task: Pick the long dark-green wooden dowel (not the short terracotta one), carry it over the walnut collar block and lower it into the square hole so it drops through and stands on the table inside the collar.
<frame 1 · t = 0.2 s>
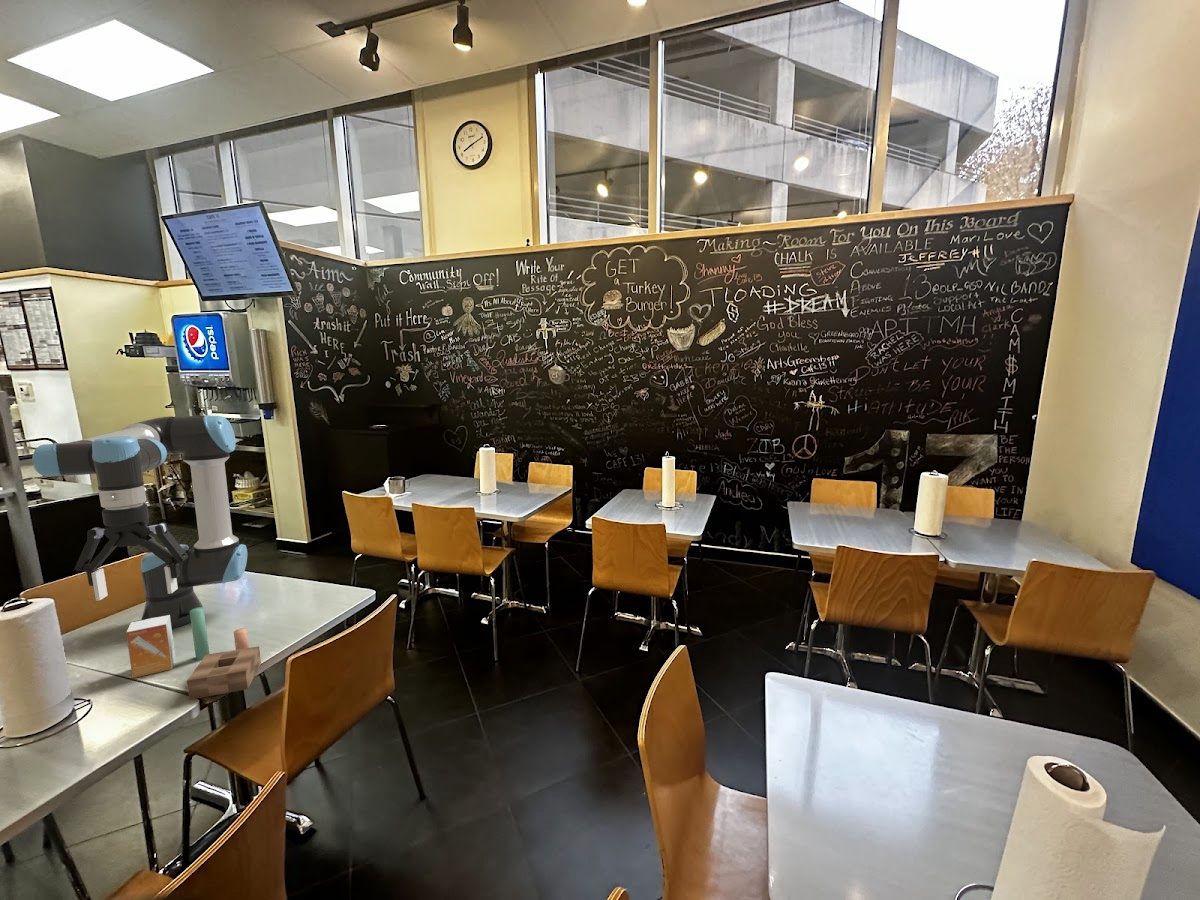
hand: (138, 594, 117), 27 cm above the table, fingers open, 13 cm apart
collar block: (227, 680, 130), on the table
short dowel: (243, 654, 142), on the table
small box: (155, 669, 136), on the table
long dowel: (202, 657, 141), on the table
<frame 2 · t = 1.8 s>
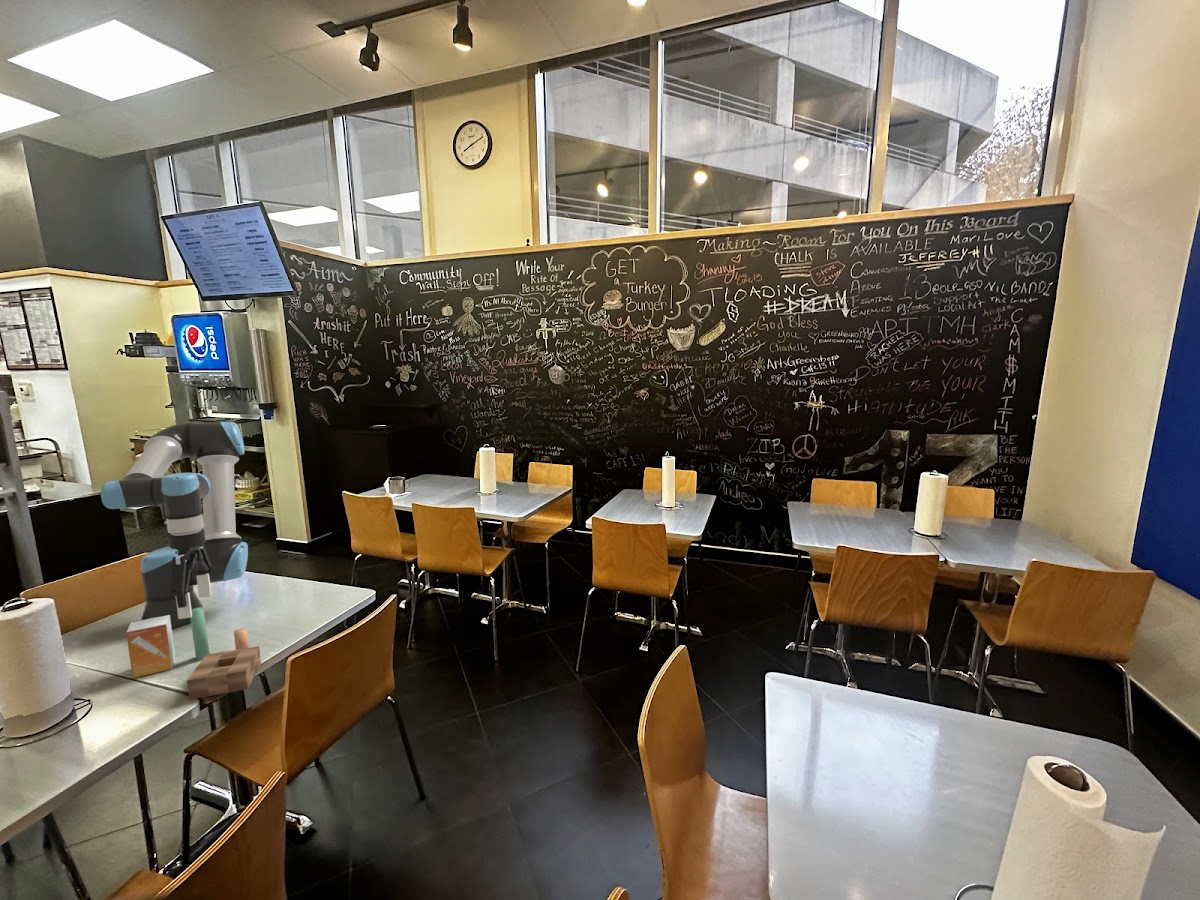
hand: (195, 606, 138), 15 cm above the table, fingers open, 13 cm apart
nothing on the table moved.
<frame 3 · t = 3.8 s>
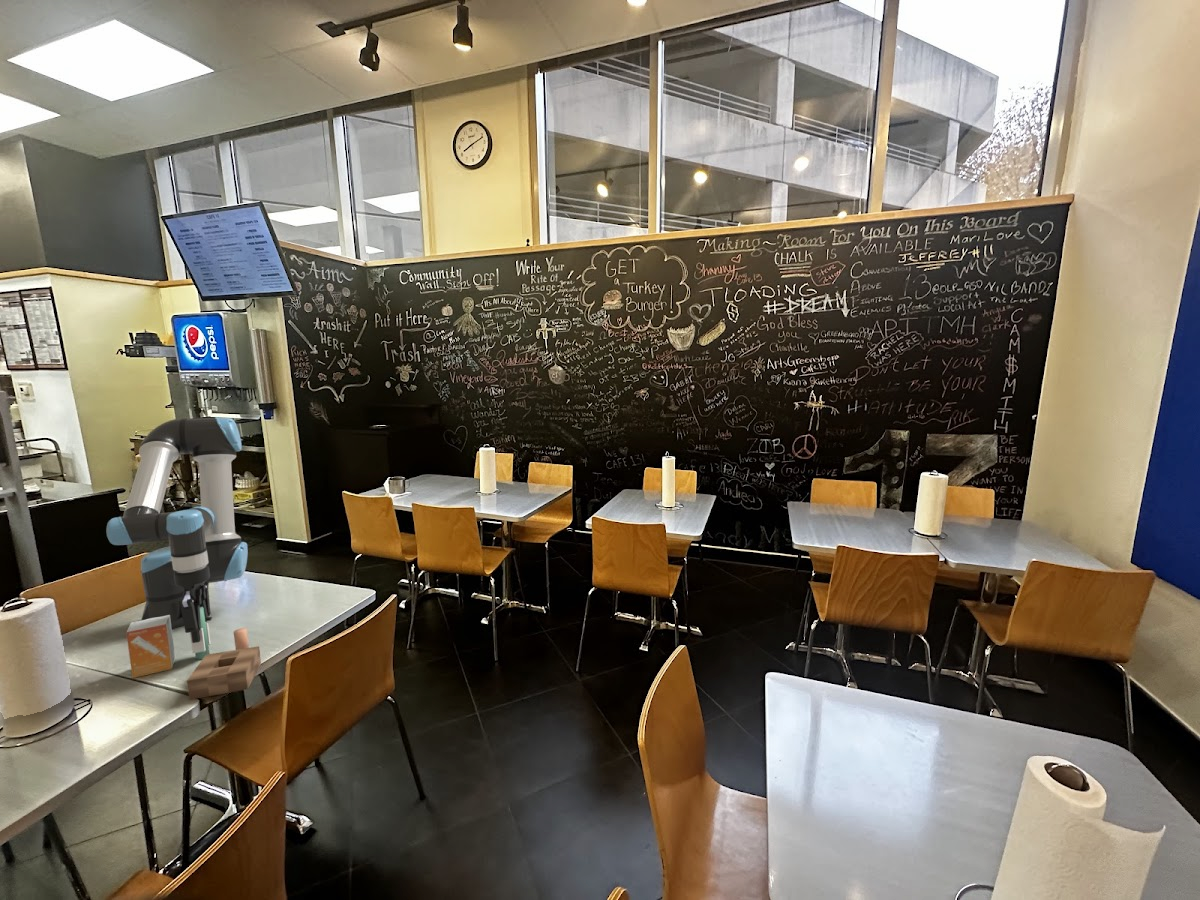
hand: (201, 648, 140), 3 cm above the table, fingers closed on long dowel, 3 cm apart
long dowel: (202, 656, 141), on the table, touching gripper
everything else where it was.
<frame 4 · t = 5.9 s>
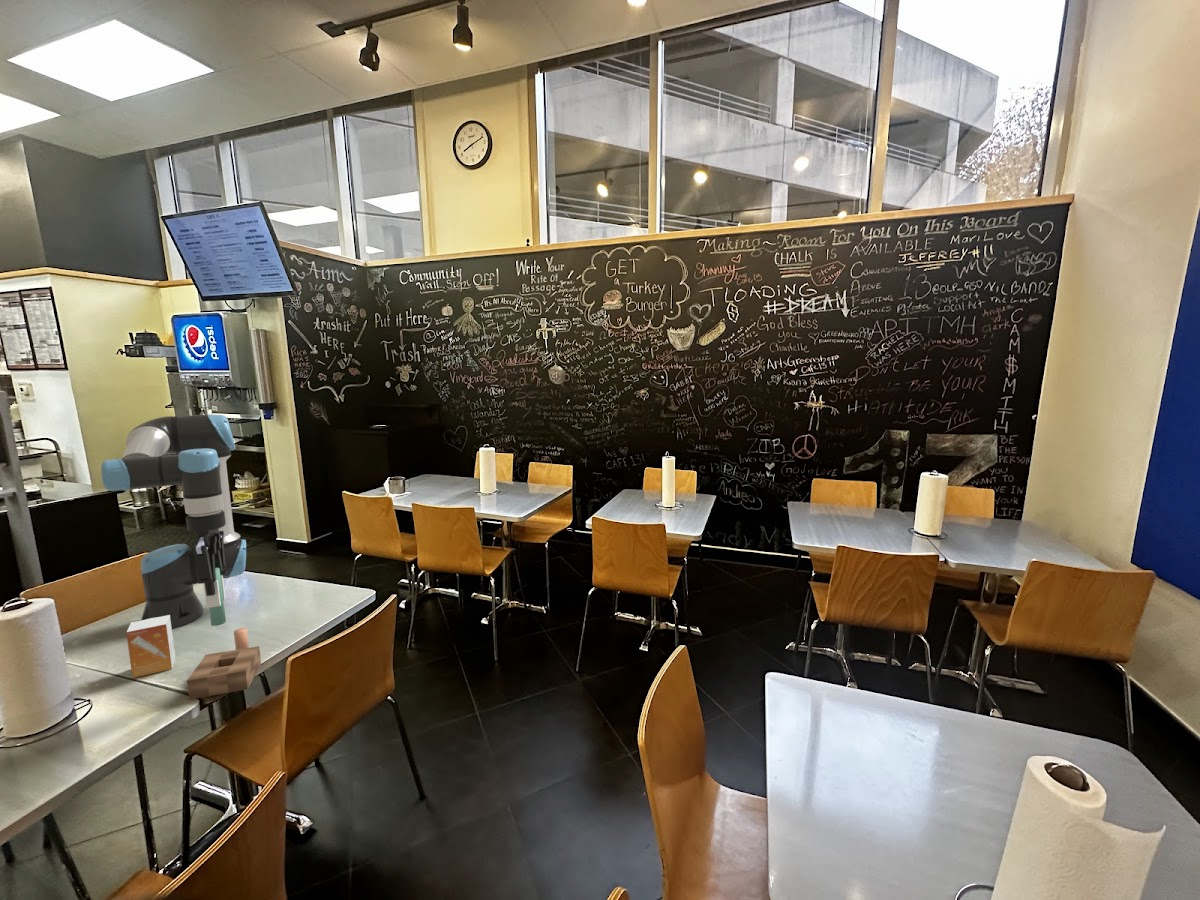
hand: (216, 603, 127), 21 cm above the table, fingers closed on long dowel, 3 cm apart
long dowel: (218, 622, 128), point 16 cm above the table, touching gripper
everything else where it was.
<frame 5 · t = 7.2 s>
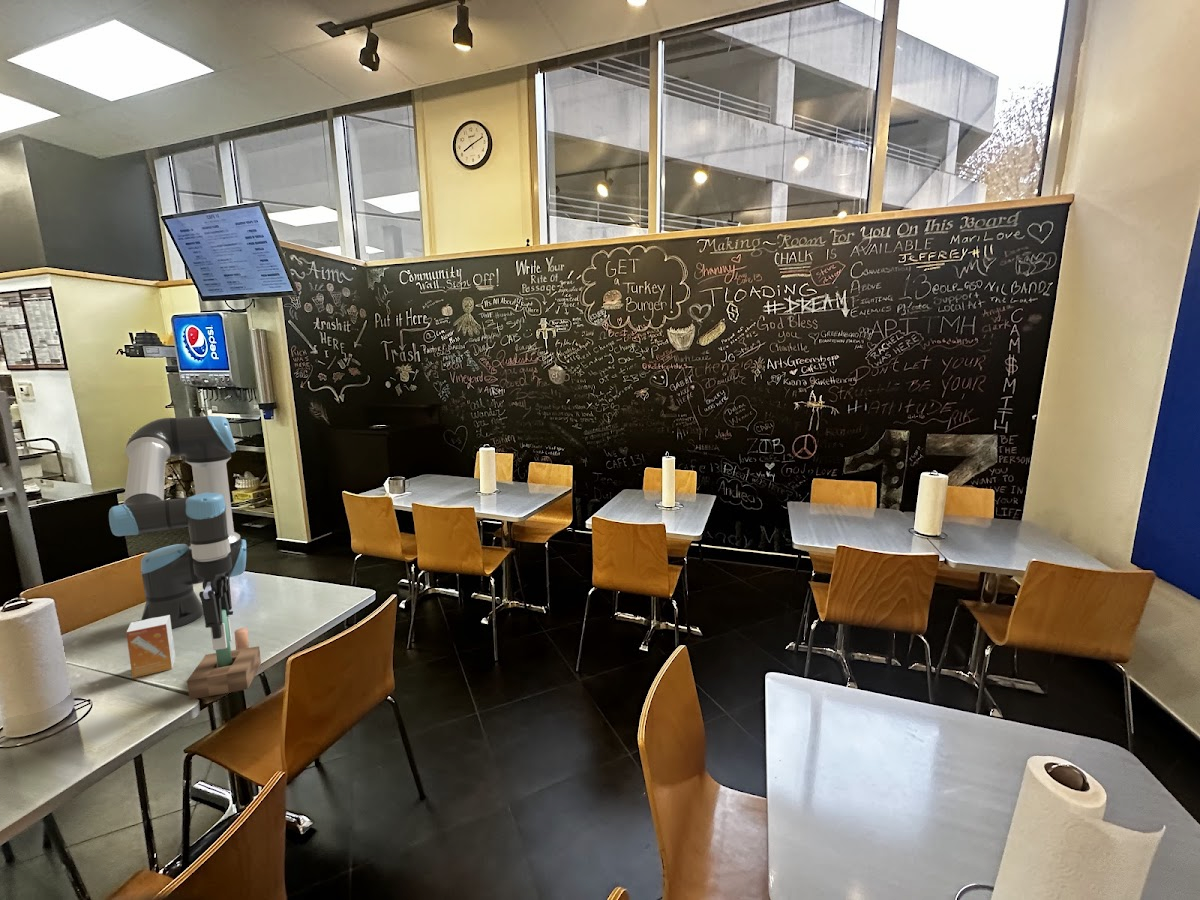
hand: (222, 644, 129), 10 cm above the table, fingers closed on long dowel, 3 cm apart
long dowel: (225, 663, 129), point 5 cm above the table, touching gripper
everything else where it was.
when the fingers open (7 cm above the table, at t = 8.4 s): long dowel drops 1 cm, resting in collar block.
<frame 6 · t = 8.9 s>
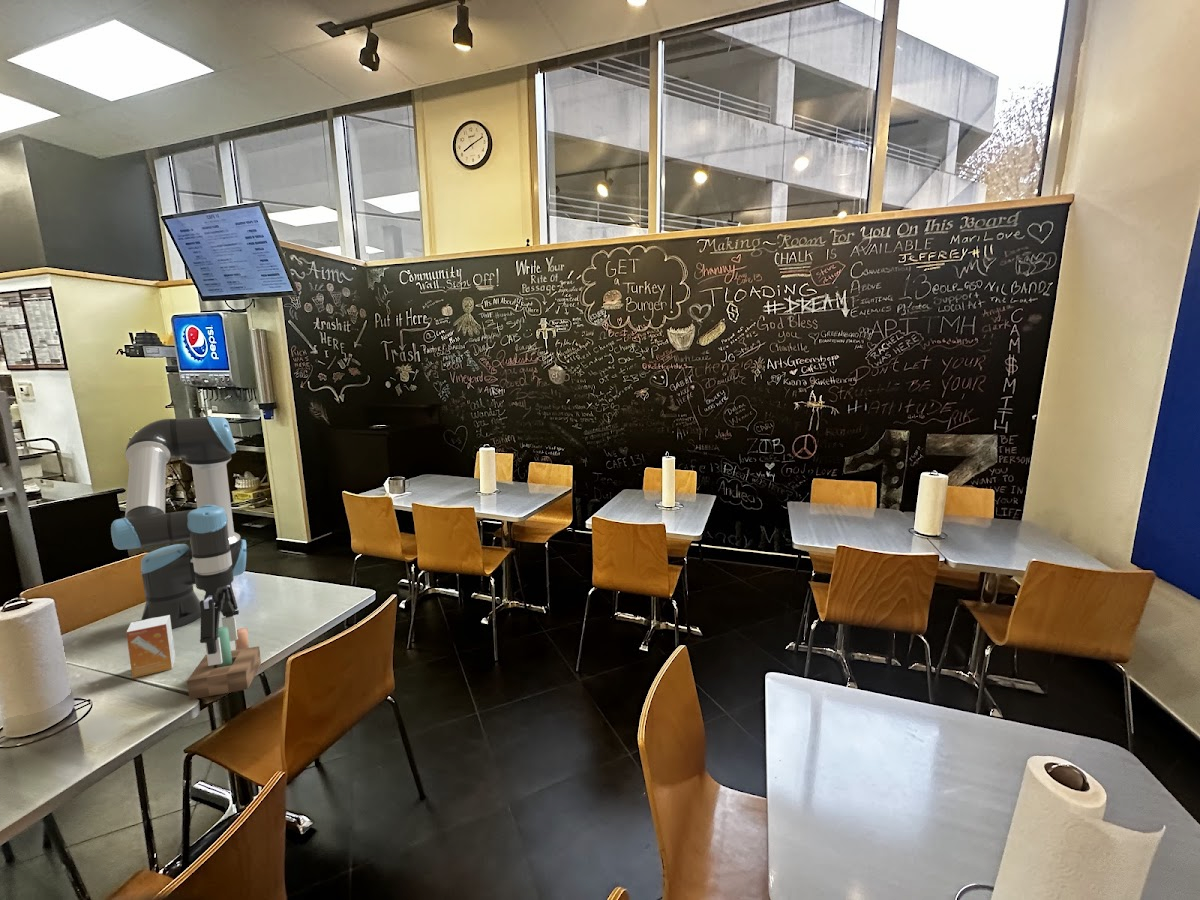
hand: (223, 651, 129), 8 cm above the table, fingers open, 11 cm apart
long dowel: (227, 680, 130), resting in collar block
everything else where it was.
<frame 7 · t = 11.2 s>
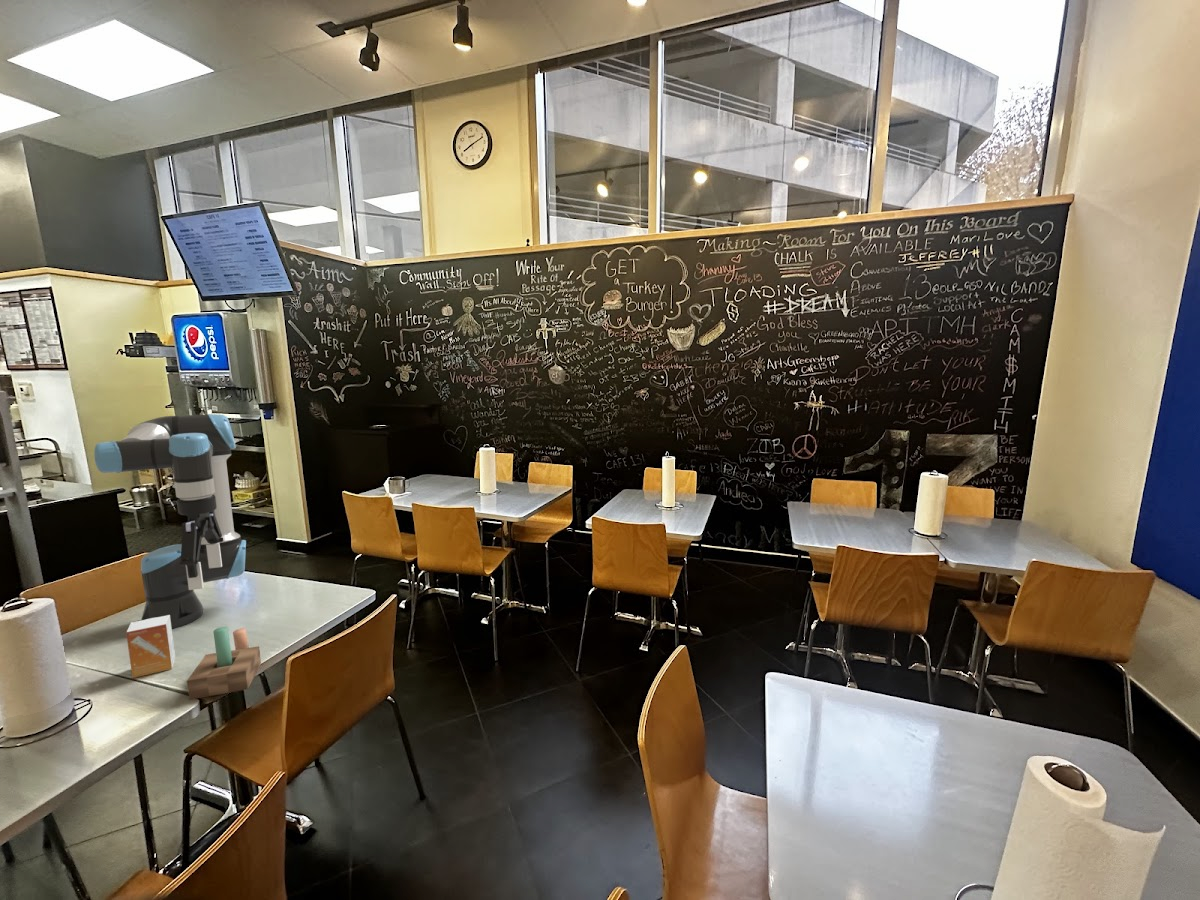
hand: (206, 577, 128), 27 cm above the table, fingers open, 13 cm apart
nothing on the table moved.
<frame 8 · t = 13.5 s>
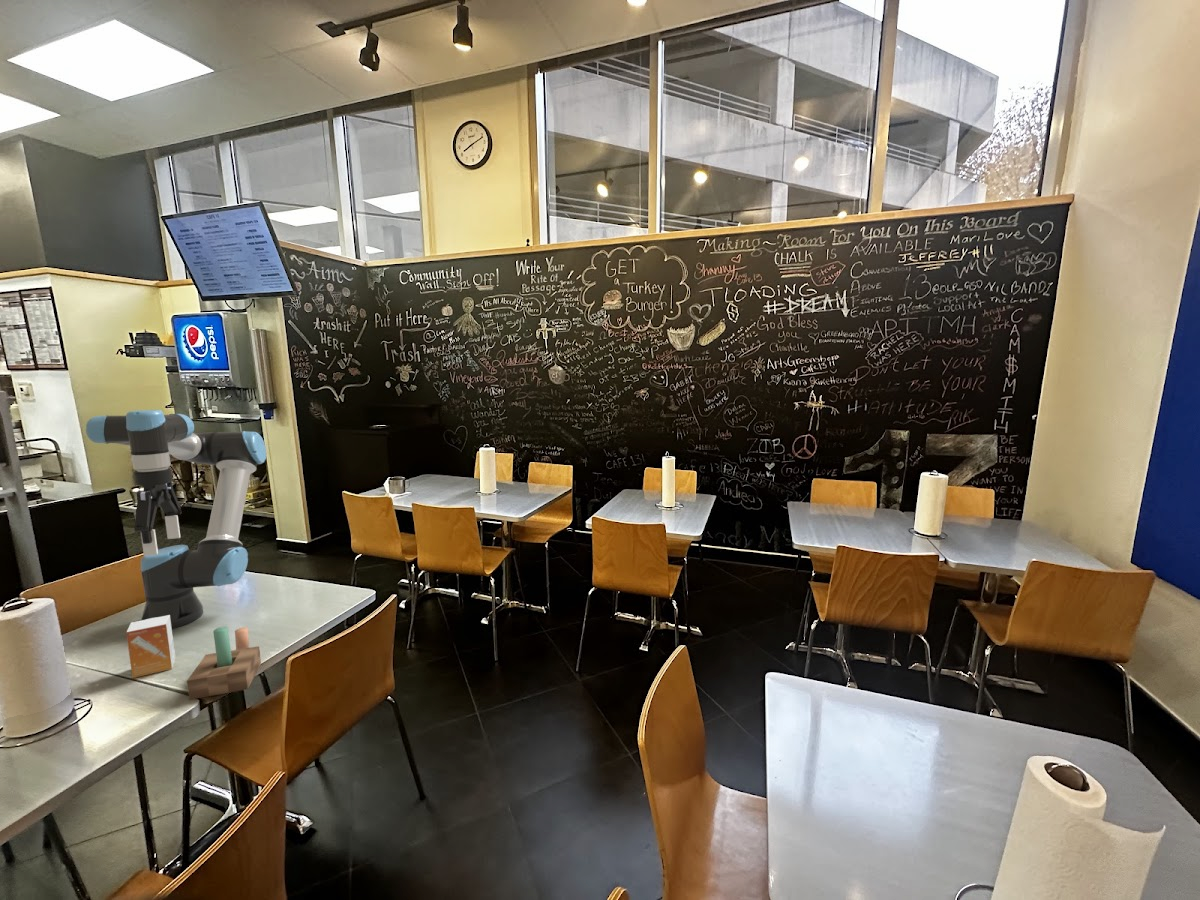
hand: (163, 546, 137), 32 cm above the table, fingers open, 13 cm apart
nothing on the table moved.
at the end: long dowel 0.0 cm off-centre on the collar block, point 0.0 cm above the collar block's base; long dowel tilted 0°; short dowel moved 0.1 cm from its start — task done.
